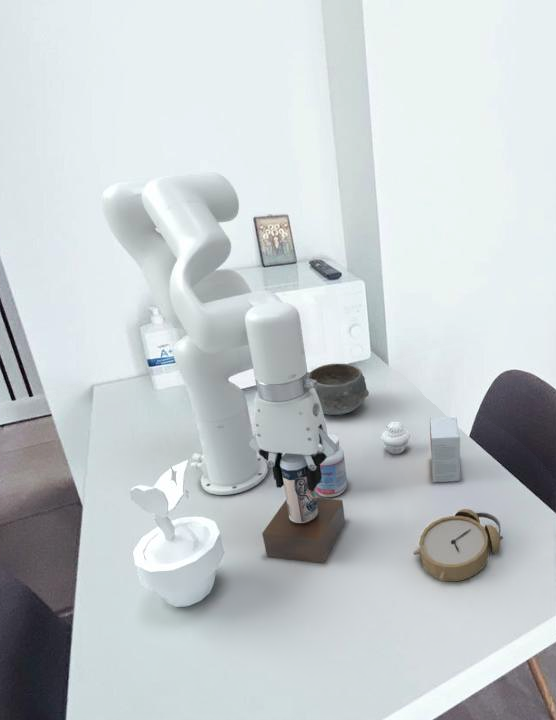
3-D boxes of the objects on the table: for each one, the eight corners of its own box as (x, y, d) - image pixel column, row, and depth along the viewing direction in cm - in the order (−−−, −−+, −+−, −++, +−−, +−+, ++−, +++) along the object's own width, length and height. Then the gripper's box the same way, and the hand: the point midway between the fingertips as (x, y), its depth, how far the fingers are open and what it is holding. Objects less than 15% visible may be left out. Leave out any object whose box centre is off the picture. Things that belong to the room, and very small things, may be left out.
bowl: (312, 398, 142) (307, 363, 138) (372, 394, 143) (369, 360, 139) (303, 425, 129) (298, 387, 125) (369, 421, 131) (366, 384, 127)
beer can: (310, 527, 90) (301, 466, 85) (284, 523, 90) (273, 463, 86) (323, 508, 94) (314, 449, 89) (297, 505, 95) (288, 446, 90)
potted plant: (202, 628, 78) (162, 484, 68) (130, 617, 79) (80, 475, 69) (249, 563, 89) (221, 431, 79) (185, 554, 91) (149, 425, 81)
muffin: (379, 446, 121) (377, 418, 118) (406, 440, 123) (404, 413, 120) (386, 460, 116) (384, 432, 113) (414, 454, 118) (412, 426, 115)
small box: (431, 460, 116) (429, 417, 111) (457, 459, 116) (456, 415, 112) (432, 483, 108) (430, 438, 104) (460, 481, 109) (459, 436, 104)
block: (266, 556, 90) (261, 533, 88) (292, 517, 99) (289, 494, 97) (323, 563, 89) (320, 539, 87) (345, 522, 98) (342, 499, 96)
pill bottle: (309, 493, 106) (302, 444, 101) (329, 476, 111) (323, 428, 106) (334, 501, 103) (328, 451, 99) (353, 484, 108) (348, 435, 104)
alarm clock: (404, 540, 89) (471, 490, 97) (409, 561, 92) (475, 510, 99) (447, 580, 81) (516, 522, 89) (452, 601, 84) (519, 543, 92)
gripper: (345, 377, 84) (356, 475, 92) (243, 371, 87) (261, 466, 94) (327, 400, 77) (340, 503, 85) (217, 392, 80) (238, 493, 87)
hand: (298, 483), depth 89 cm, fingers closed on beer can, 4 cm apart
